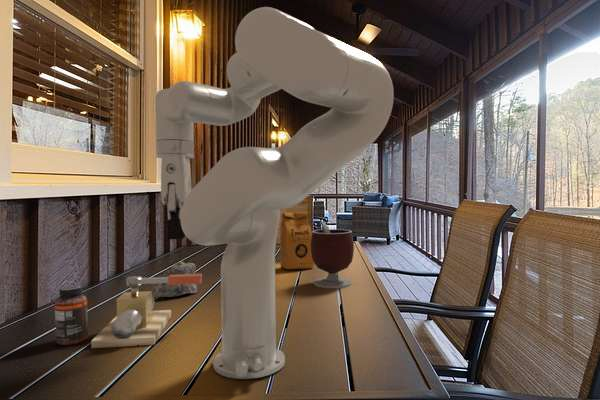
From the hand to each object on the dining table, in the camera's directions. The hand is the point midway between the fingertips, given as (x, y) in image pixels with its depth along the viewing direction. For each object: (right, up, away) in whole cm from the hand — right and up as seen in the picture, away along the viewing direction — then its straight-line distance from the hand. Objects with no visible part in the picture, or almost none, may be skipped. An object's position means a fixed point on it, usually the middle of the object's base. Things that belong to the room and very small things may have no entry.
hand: (176, 238), depth 87 cm
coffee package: (+25, -19, +75) cm, 81 cm away
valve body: (-11, -20, +5) cm, 23 cm away
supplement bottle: (-22, -22, 0) cm, 30 cm away
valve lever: (-4, -11, +6) cm, 13 cm away
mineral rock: (-11, -20, +36) cm, 43 cm away
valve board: (-11, -21, +5) cm, 24 cm away
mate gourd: (+36, -19, +49) cm, 64 cm away
